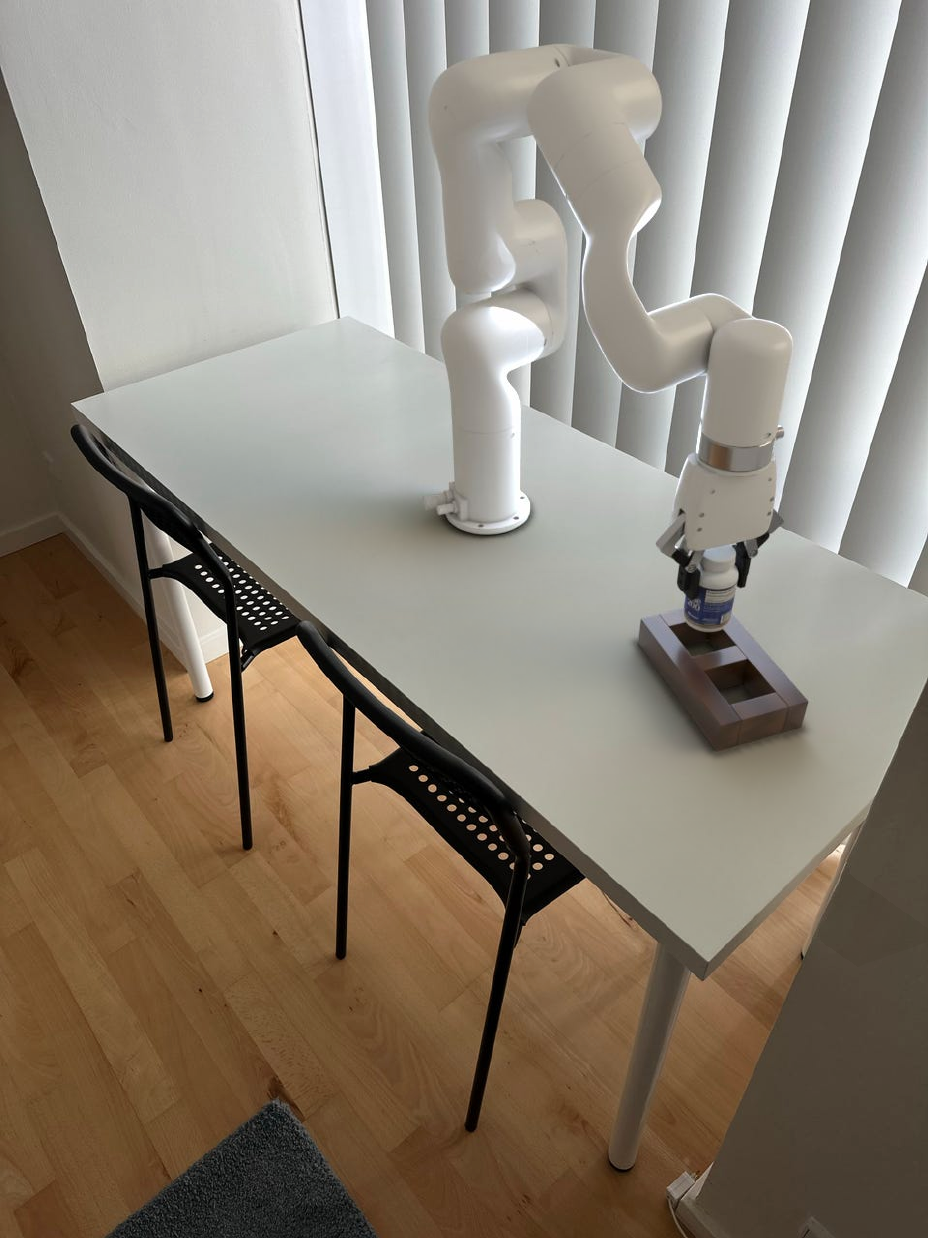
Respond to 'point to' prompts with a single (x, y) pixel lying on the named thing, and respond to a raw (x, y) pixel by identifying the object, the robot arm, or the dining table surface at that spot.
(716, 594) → the pill bottle
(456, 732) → the dining table surface
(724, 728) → the stand
